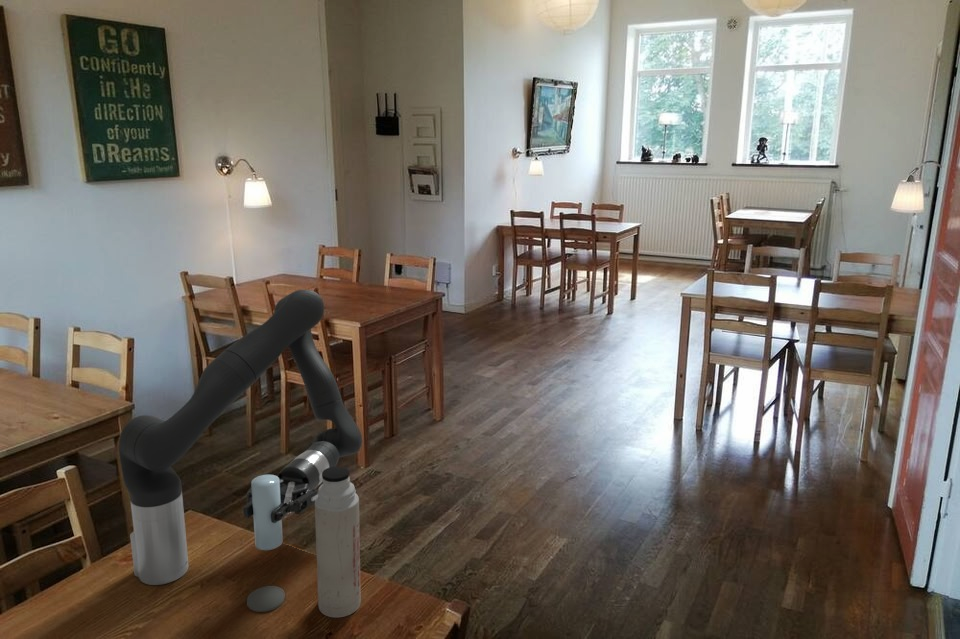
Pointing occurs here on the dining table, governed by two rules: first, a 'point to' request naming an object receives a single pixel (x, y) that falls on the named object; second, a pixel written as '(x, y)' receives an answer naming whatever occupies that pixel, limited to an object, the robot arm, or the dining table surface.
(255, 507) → the tall pale blue cylinder
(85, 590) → the dining table surface
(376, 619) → the dining table surface
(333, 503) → the thermos bottle
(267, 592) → the coaster
